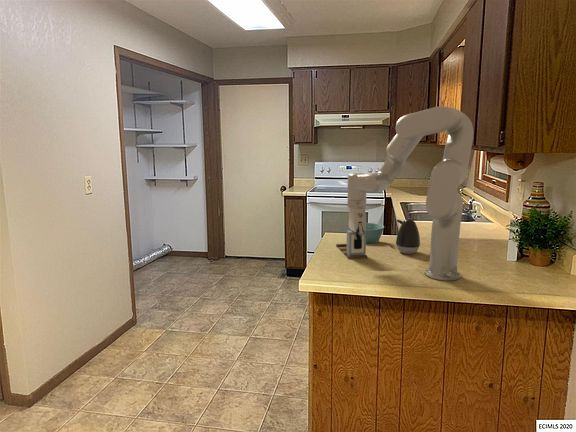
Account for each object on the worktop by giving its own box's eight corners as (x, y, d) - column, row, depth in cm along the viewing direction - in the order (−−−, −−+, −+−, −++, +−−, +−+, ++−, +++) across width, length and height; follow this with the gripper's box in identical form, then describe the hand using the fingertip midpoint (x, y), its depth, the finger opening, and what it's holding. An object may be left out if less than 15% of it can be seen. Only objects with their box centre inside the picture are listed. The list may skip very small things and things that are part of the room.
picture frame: (365, 255, 172) (366, 231, 170) (349, 256, 171) (349, 232, 169) (362, 253, 176) (363, 229, 174) (346, 253, 175) (346, 230, 173)
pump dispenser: (398, 248, 191) (400, 215, 189) (422, 251, 186) (423, 217, 183) (392, 253, 183) (393, 219, 180) (416, 256, 178) (418, 221, 175)
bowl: (369, 248, 192) (369, 230, 190) (343, 242, 204) (344, 225, 202) (390, 243, 202) (390, 226, 200) (365, 237, 213) (365, 221, 212)
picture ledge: (367, 261, 171) (367, 255, 170) (348, 262, 170) (348, 256, 169) (353, 248, 191) (353, 243, 190) (336, 249, 190) (336, 244, 189)
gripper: (372, 206, 162) (371, 252, 165) (359, 200, 178) (358, 242, 182) (353, 207, 161) (352, 252, 164) (342, 201, 177) (342, 242, 181)
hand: (356, 246), depth 173 cm, fingers closed on picture frame, 4 cm apart
